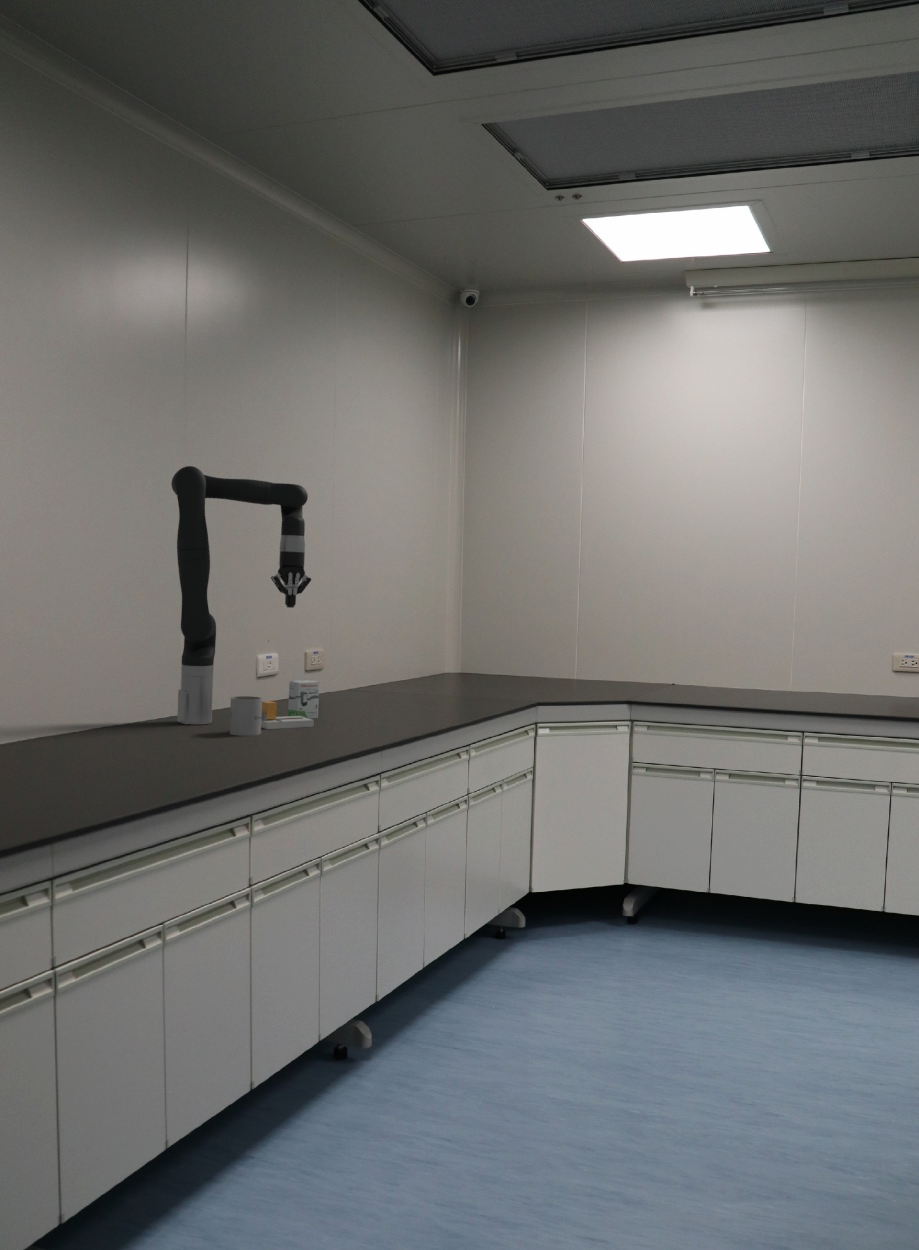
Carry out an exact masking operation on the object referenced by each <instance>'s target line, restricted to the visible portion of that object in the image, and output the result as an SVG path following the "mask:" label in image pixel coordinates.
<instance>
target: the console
mask: <svg viewBox="0 0 919 1250" xmlns="http://www.w3.org/2000/svg"><path fill="white" fill-rule="evenodd" d="M314 725H315V720H314V719H313V718H312V719H308V718H305V717H301V716H288V715H287V716H276V719H267V714H265V713H262V714H261V729H265V730H277V729H298V728H314Z"/></svg>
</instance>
